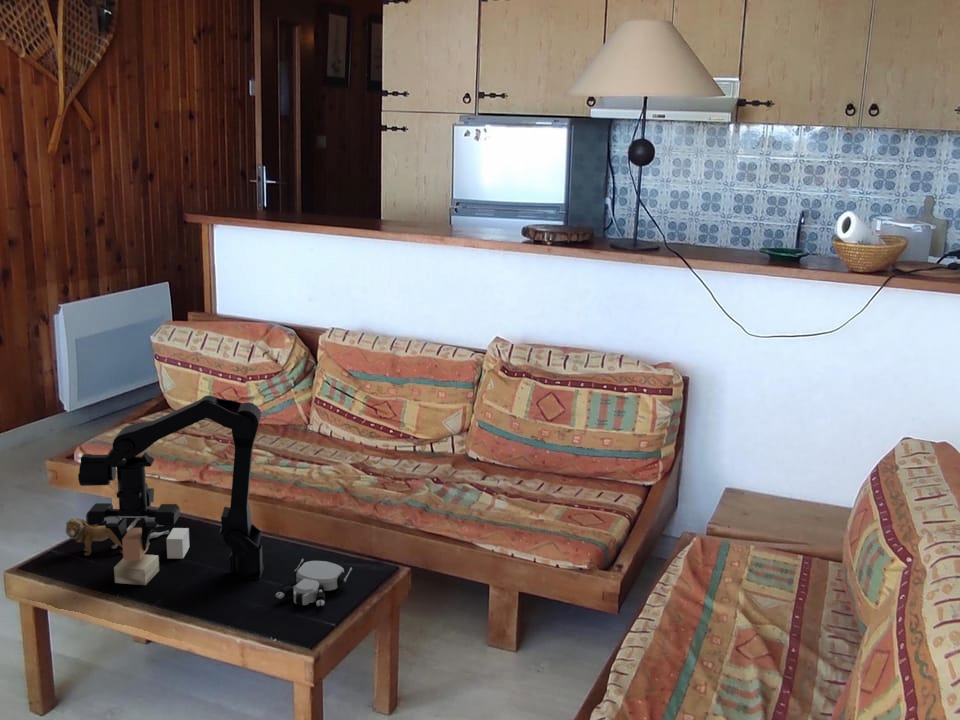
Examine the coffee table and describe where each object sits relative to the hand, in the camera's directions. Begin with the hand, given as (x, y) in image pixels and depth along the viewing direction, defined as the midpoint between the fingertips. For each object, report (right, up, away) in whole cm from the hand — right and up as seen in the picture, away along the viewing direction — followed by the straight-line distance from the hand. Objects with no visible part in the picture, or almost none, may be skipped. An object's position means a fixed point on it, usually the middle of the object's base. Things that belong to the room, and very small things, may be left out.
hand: (135, 549), depth 206 cm
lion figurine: (-13, -3, +12) cm, 18 cm away
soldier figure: (-5, -2, +19) cm, 20 cm away
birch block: (0, -7, +2) cm, 7 cm away
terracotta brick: (0, -1, 0) cm, 1 cm away
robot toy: (+40, -9, -2) cm, 41 cm away
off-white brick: (+5, -4, +14) cm, 15 cm away
